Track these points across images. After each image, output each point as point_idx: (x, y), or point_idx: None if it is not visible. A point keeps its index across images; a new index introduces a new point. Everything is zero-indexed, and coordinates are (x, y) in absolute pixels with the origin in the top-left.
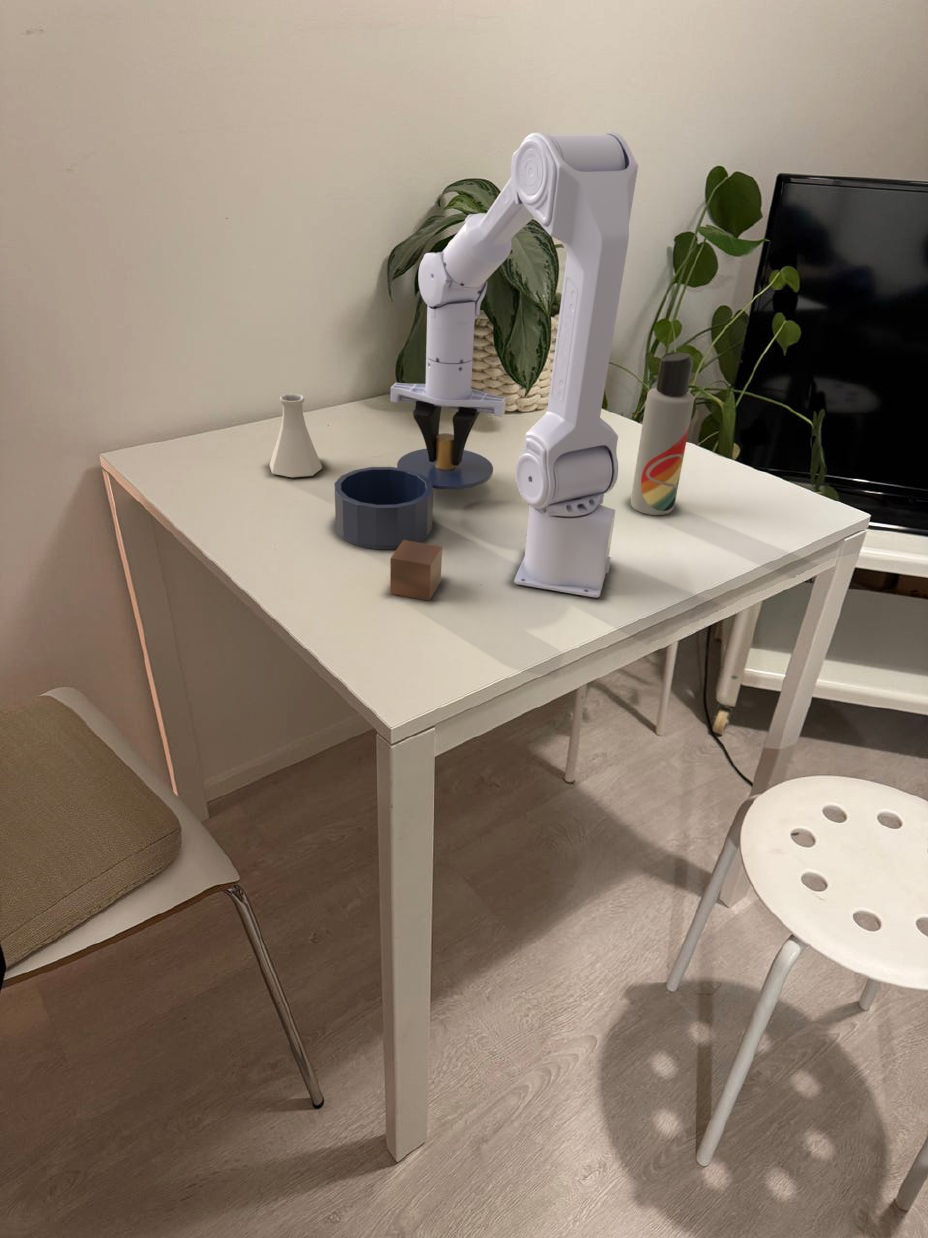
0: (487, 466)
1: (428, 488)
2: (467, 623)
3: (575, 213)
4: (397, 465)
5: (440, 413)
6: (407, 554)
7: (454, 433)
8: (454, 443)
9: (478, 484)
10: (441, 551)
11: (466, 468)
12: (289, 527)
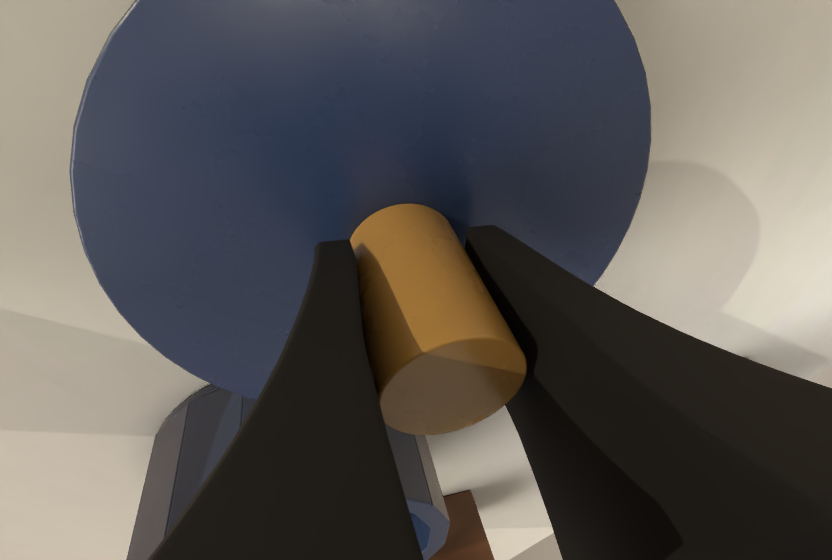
0: (621, 165)
1: (434, 524)
2: (515, 515)
3: None
4: (158, 350)
5: (401, 485)
6: None
7: (550, 505)
8: (517, 422)
9: None
10: (491, 553)
11: (513, 234)
12: (78, 529)
